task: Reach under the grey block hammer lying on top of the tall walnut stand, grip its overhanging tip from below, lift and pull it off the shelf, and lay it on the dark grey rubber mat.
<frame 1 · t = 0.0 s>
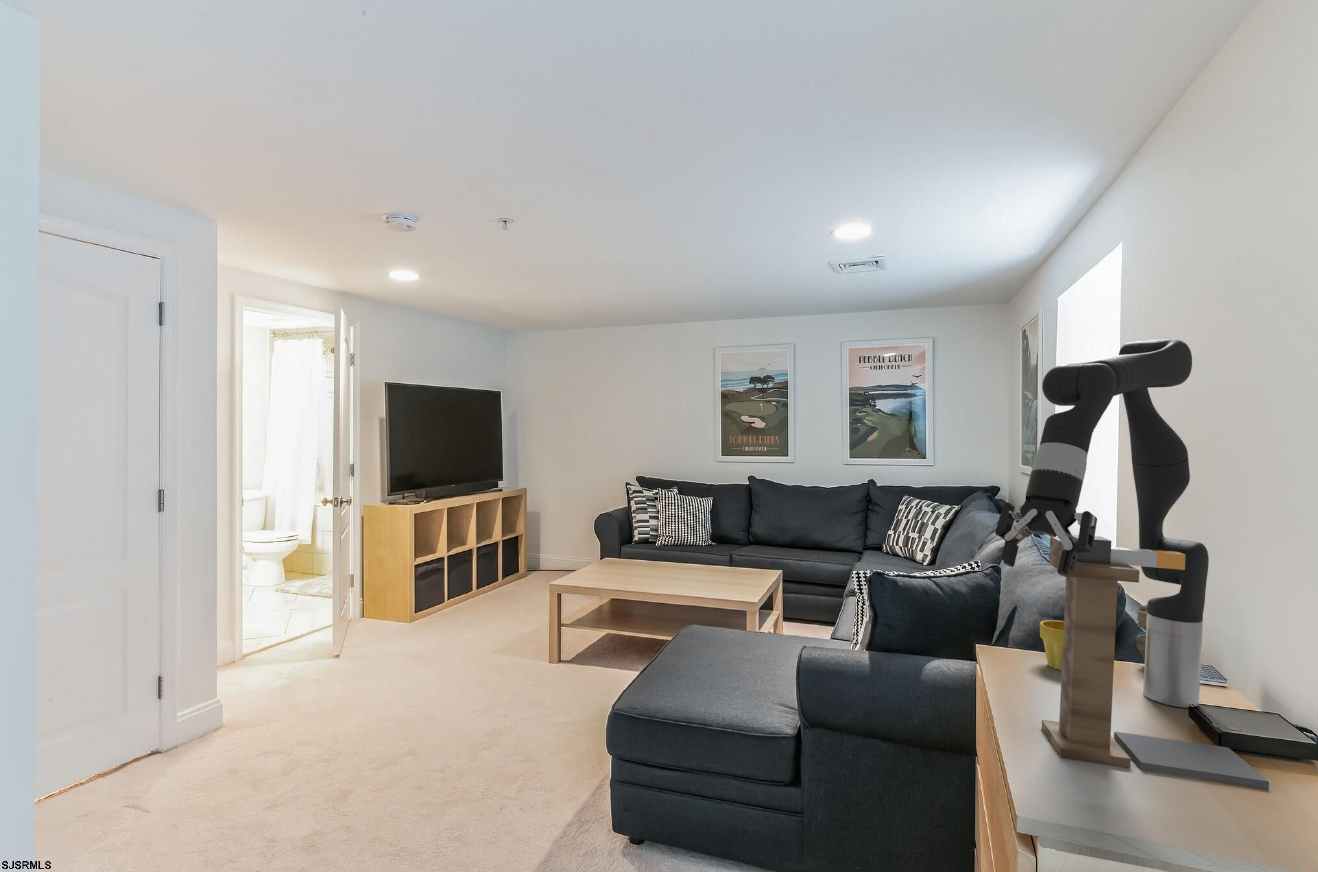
hand: (1034, 570, 109), 31 cm above the cabinet, tool tilted 20°, fingers open, 8 cm apart
rubber mat: (1185, 761, 113), on the cabinet
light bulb: (1148, 668, 161), on the cabinet
plant pot: (1063, 668, 159), on the cabinet
grey block hammer: (1125, 563, 115), point 32 cm above the cabinet, touching walnut stand
walnut stand: (1083, 746, 117), on the cabinet
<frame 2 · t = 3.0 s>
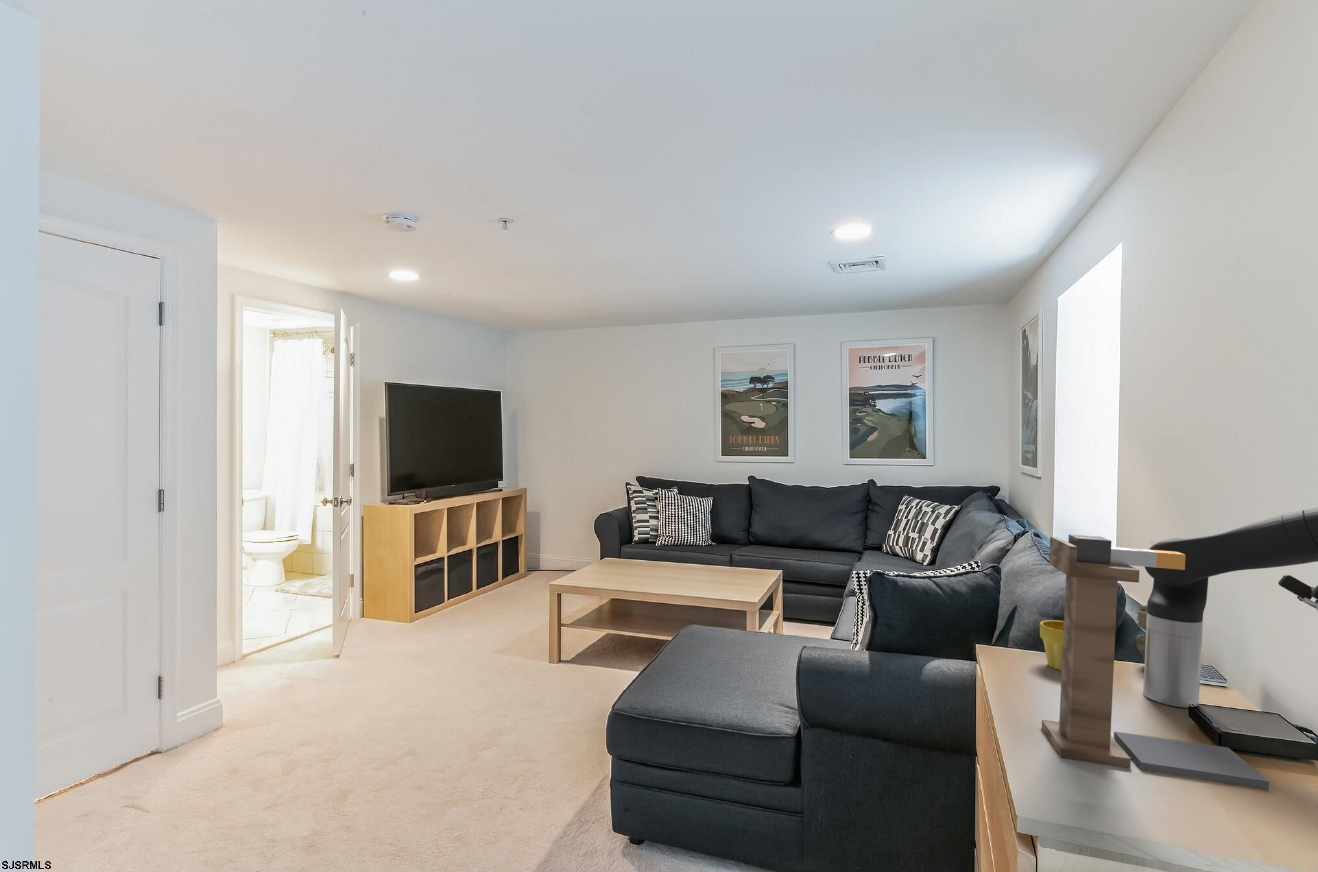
hand: (1298, 584, 109), 31 cm above the cabinet, tool pointing upward, fingers open, 8 cm apart
nothing on the cabinet moved.
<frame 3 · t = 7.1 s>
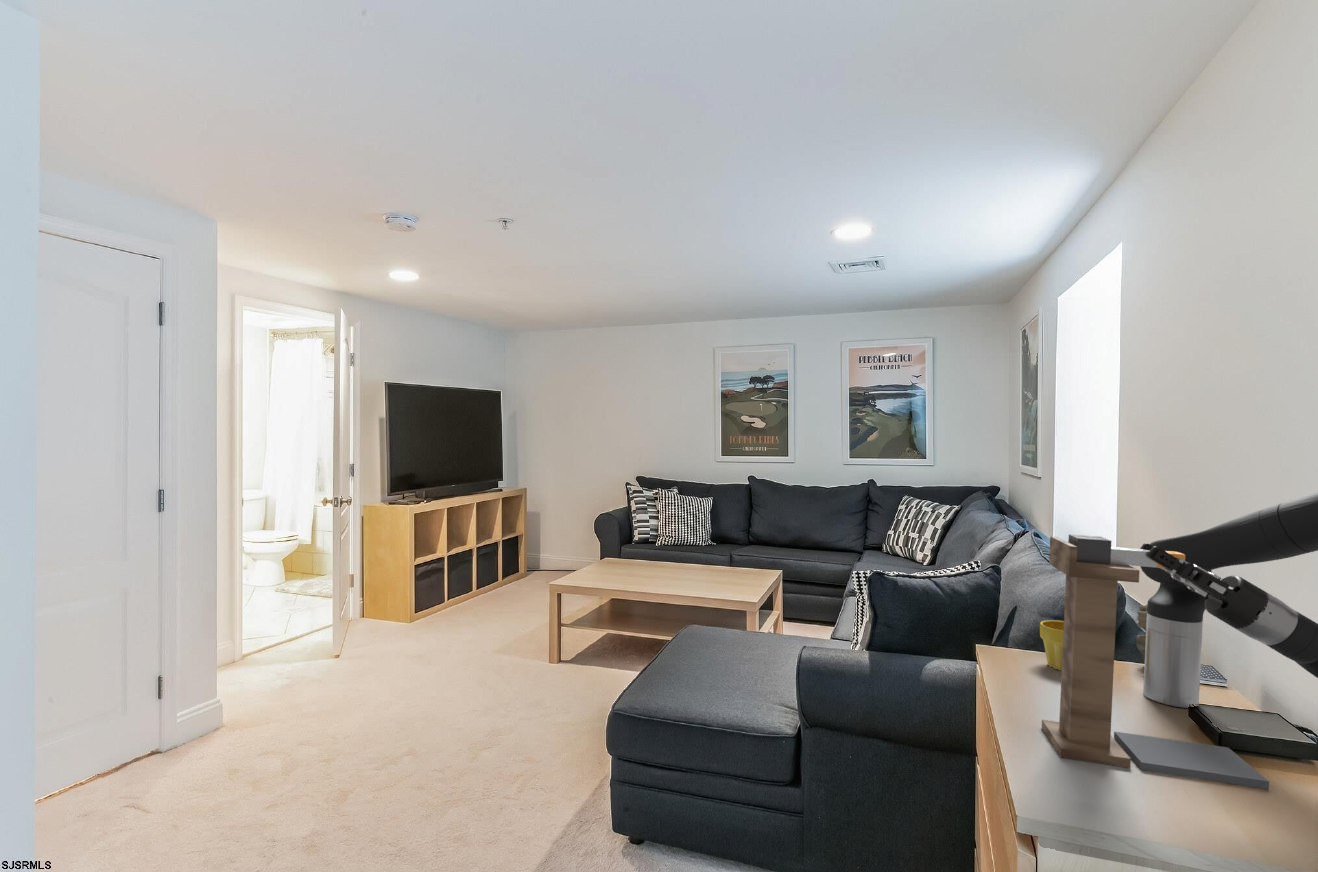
hand: (1146, 549, 115), 35 cm above the cabinet, tool pointing upward, fingers closed on grey block hammer, 3 cm apart
grey block hammer: (1125, 563, 115), point 32 cm above the cabinet, touching gripper, walnut stand
everything else where it was.
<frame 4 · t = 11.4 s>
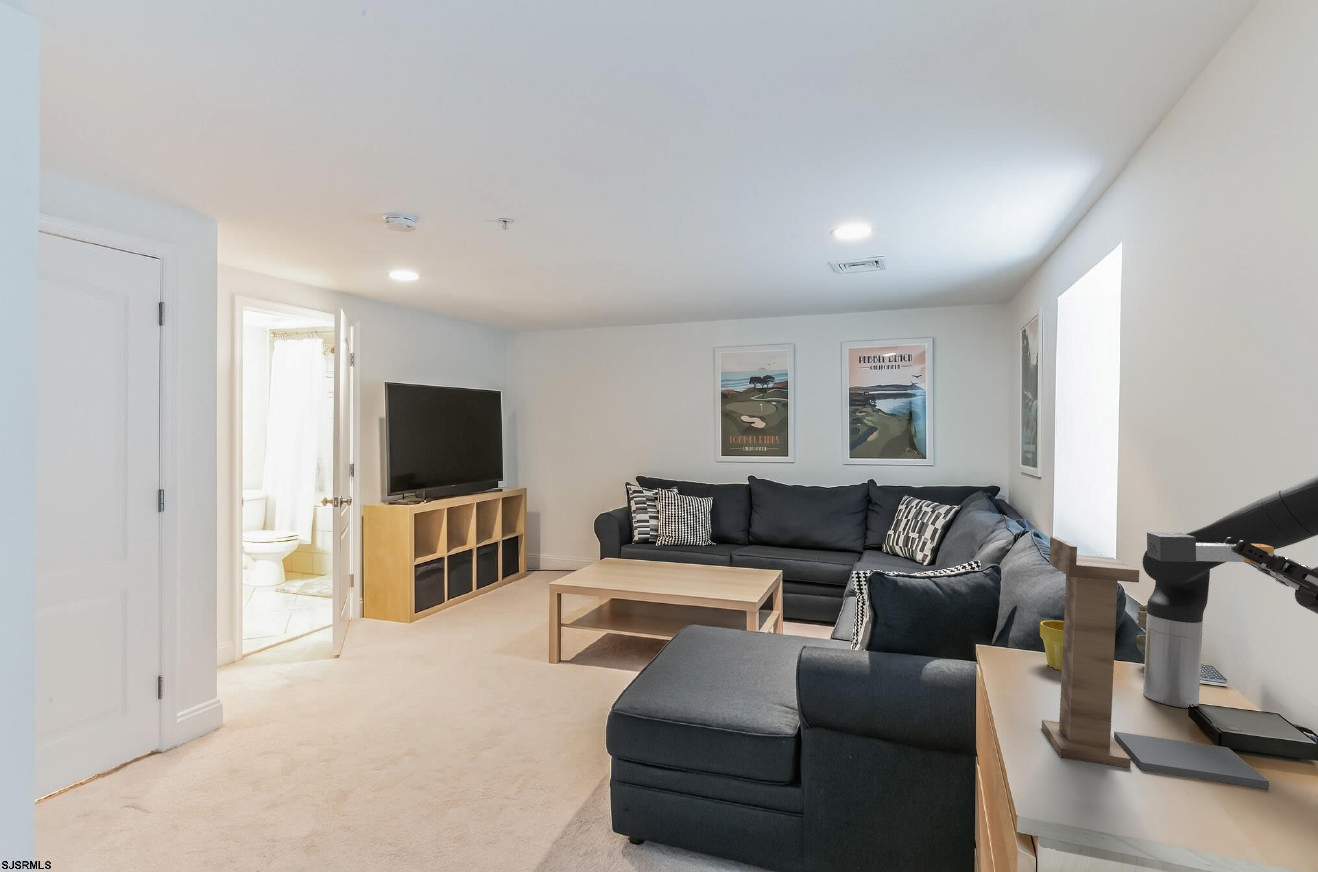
hand: (1231, 543, 111), 37 cm above the cabinet, tool pointing upward, fingers closed on grey block hammer, 3 cm apart
grey block hammer: (1210, 559, 112), point 34 cm above the cabinet, touching gripper
everything else where it was.
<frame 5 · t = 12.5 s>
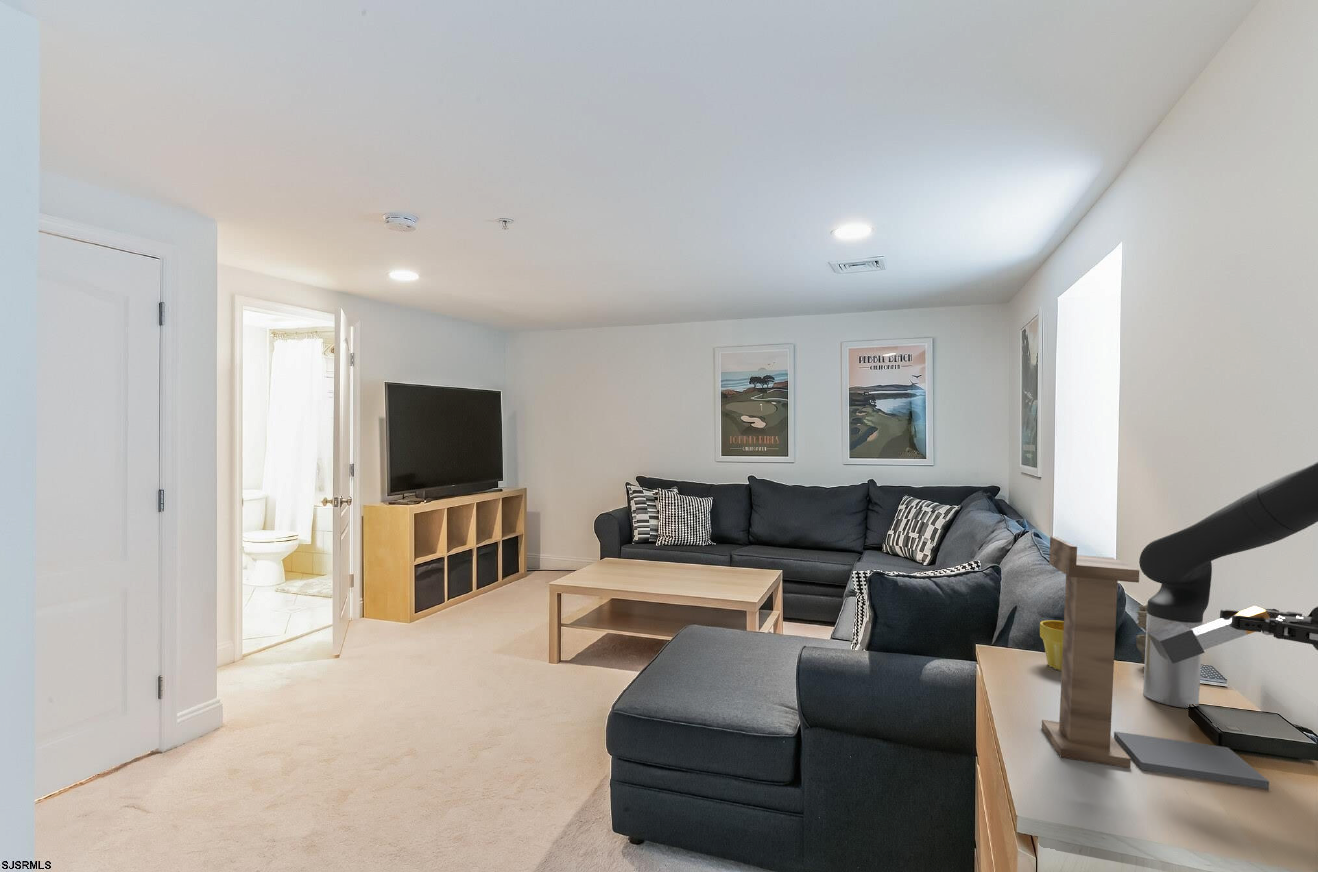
hand: (1227, 619, 111), 24 cm above the cabinet, tool horizontal, fingers closed on grey block hammer, 3 cm apart
grey block hammer: (1216, 641, 112), point 21 cm above the cabinet, tilted 29°, touching gripper
everything else where it was.
when the fingers open (10 cm above the cabinet, at t = 15.7 s): grey block hammer drops 5 cm, resting on rubber mat.
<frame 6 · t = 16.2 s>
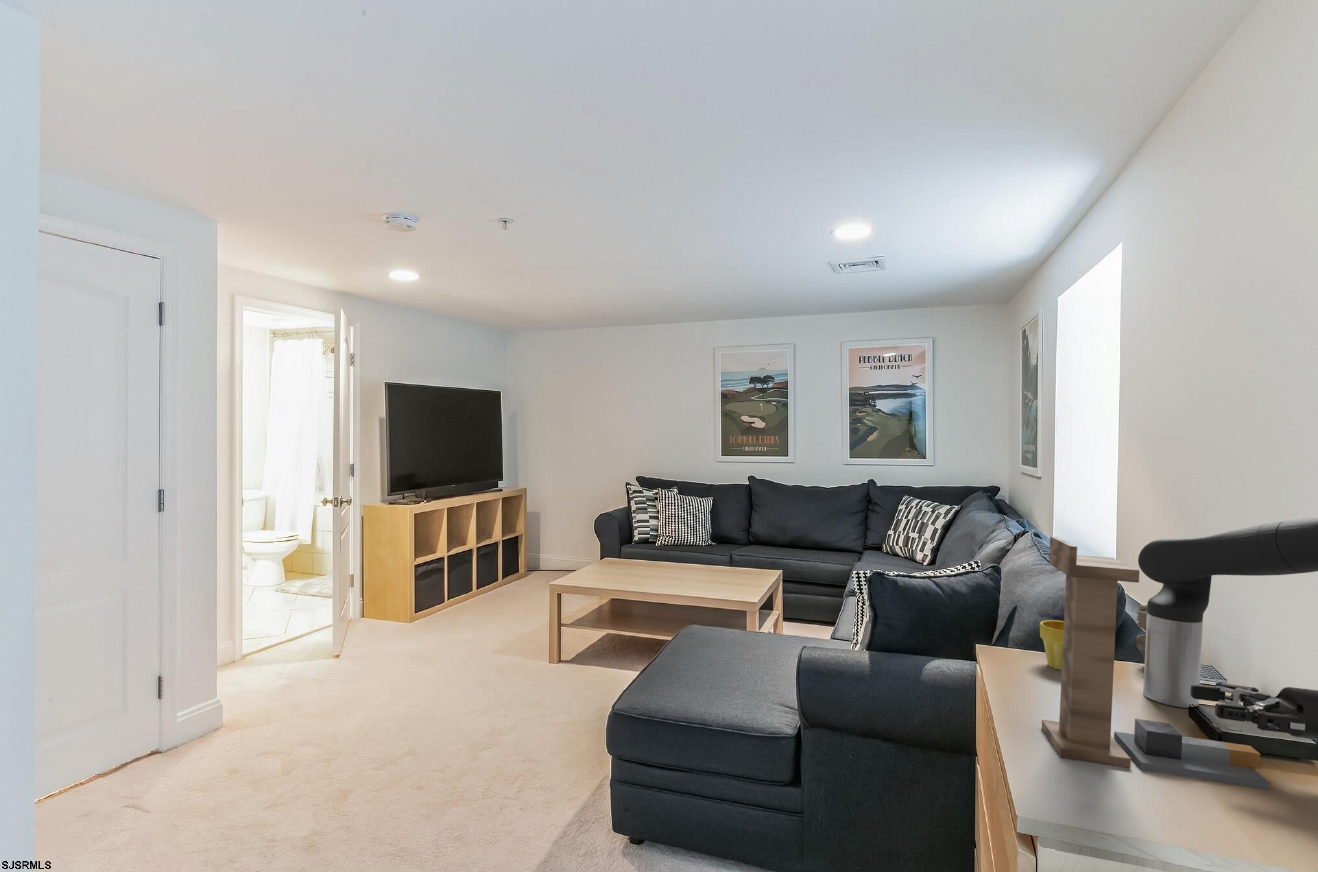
hand: (1203, 700, 112), 11 cm above the cabinet, tool horizontal, fingers open, 8 cm apart
grey block hammer: (1195, 756, 112), point 1 cm above the cabinet, touching rubber mat
everything else where it was.
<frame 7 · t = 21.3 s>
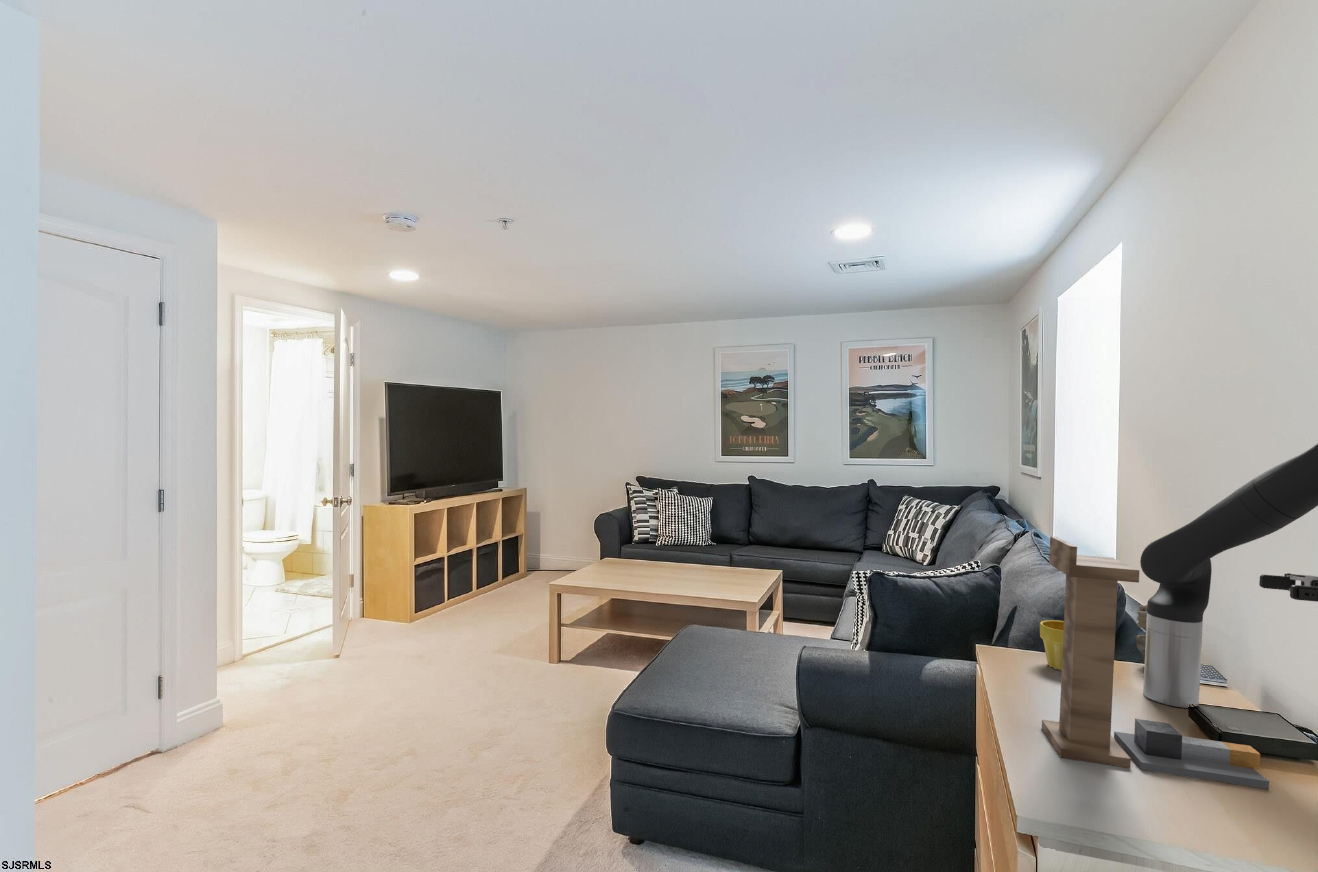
hand: (1275, 586, 111), 30 cm above the cabinet, tool horizontal, fingers open, 8 cm apart
nothing on the cabinet moved.
at the end: grey block hammer inside the target area on the rubber mat (1.3 cm from its centre), point 1.2 cm above the rubber mat's base; the gripper is holding nothing; grey block hammer tilted 0° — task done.
